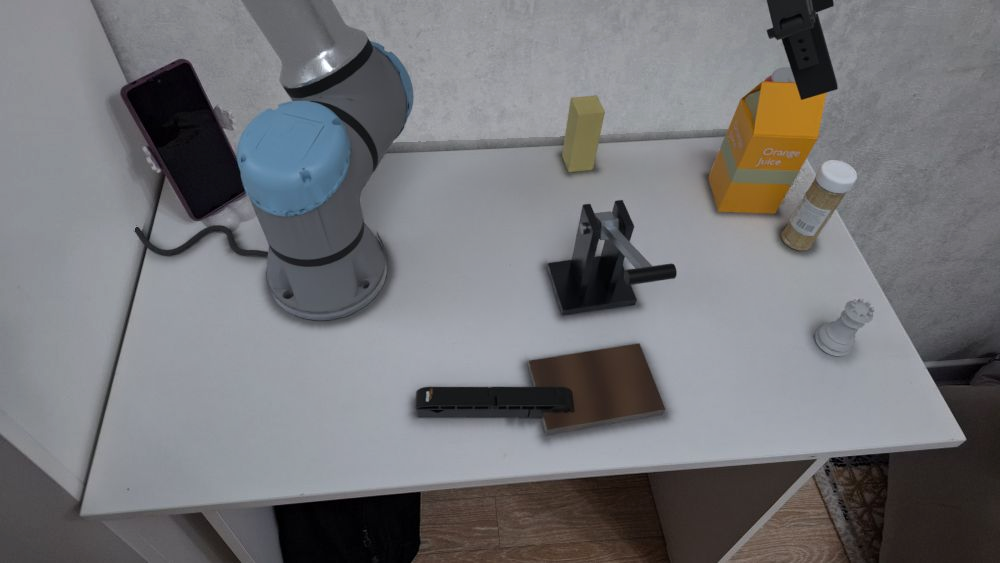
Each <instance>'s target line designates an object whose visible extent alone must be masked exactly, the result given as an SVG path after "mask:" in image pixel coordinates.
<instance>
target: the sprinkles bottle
mask: <svg viewBox="0 0 1000 563" xmlns="http://www.w3.org/2000/svg"><path fill="white" fill-rule="evenodd" d="M857 180H858V172H857V171H856V169H855V168H854V167H853V166H852V165H850V164H848V163H847V162H845V161H843V160H842V161H841V160H837V159H830V160H825V161H824V162H822V164H821V165H820V167H819V168H818V170H817V171H816V173H815V175H814V180H813V181H812V183H811V184H810V186H809V188H808V189H807V190H806V192H805V194H804V195H803V197H802V199H801V200H800V202H799V203H798V205H797V207H796V209H795V210H794V212H793V214H792V215H791V217H790V220H789V221H788V223H787V225H786V226H785V228H783V229H782V231H781V233H780V236H781V240H782V241H783V242H784V244H785V245H786V246H787V247H789V248H790V249H793V250H796V251H801V252H802V251H808V250H810V249H811V248H812V247H813V246H814V244H815V241H816V240H817V238H818V237H819V235H820V234H821V233H822V232H823V231H824V228H825V227H826V226H827V224H828V222H829V221H830V220H831V219H832V216H833V214H834V212H836V209H837V208H838V206H839V205H840V203H841V202H842V200H843V199H844V198H845V196H846V194H847V193H849V191H850V190H852V188H853V187H854V185H855V183H856V181H857Z"/></svg>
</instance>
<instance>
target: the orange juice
mask: <svg viewBox="0 0 1000 563" xmlns="http://www.w3.org/2000/svg"><path fill="white" fill-rule="evenodd" d="M826 98H827V93H823V94H820V95H817V96H813V97H810V98H807V99H803V100H801V98H800V95H799V92H798V89H797V86H796V83H793V82H769V81H764V80H761V81H760V83H758V84H757V85H756V86H755V87H753V88H752V89H751V90H750V91H749V92H748V93H746V94H745V95H744V96H743V97H741V98H740V99H739V102H738V104H737V107H736V108H735V111H734V113H733V116H732V119H731V121H730V123H729V126H728V128H727V131H726V132H725V134H724V137H723V140H722V142H721V144H720V148H719V150H718V153H717V155H716V157H715V160H714V162H713V164H712V166H711V169H710V171H709V174H708V177H707V178H708V182H709V186H710V188H711V192H712V196H713V199H714V204H715V206H716V210H717V212H718V213H741V214H742V213H743V214H744V213H746V214H772V215H775V214H776V213H777V212H778V209H779V208H780V206H781V205H782V203H783V201H784V199H785V197H786V196H787V194H788V193H789V190H790V189H791V187H792V185H793V184H794V182H795V180H796V179H797V177H798V175H799V173H800V172H801V169H802V167H803V165H804V164H805V163H806V160H807V159H808V157H809V155H810V154H811V151H812V150H813V148H814V146H815V145H816V143H817V141H818V139H819V134H820V129H821V123H822V118H823V114H824V108H825V102H826Z"/></svg>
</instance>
